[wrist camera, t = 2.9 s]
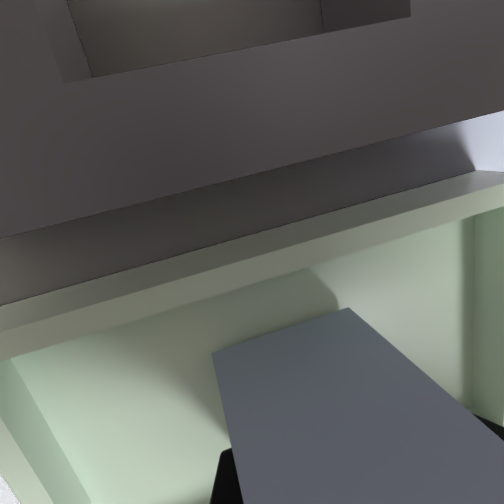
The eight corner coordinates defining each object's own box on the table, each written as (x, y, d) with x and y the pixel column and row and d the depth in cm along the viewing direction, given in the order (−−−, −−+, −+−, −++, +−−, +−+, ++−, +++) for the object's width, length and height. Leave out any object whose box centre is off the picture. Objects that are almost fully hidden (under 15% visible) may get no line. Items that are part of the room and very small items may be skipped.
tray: (474, 403, 13) (516, 437, 12) (109, 554, 11) (100, 622, 9) (477, 170, 10) (534, 174, 9) (-30, 314, 8) (-79, 355, 6)
